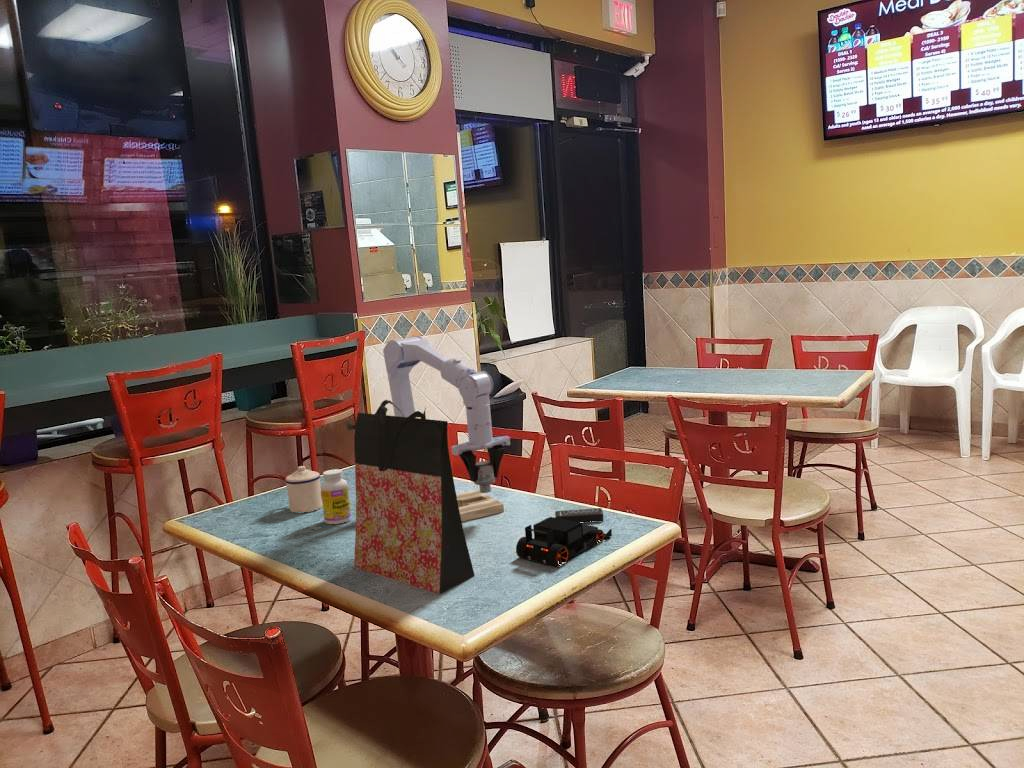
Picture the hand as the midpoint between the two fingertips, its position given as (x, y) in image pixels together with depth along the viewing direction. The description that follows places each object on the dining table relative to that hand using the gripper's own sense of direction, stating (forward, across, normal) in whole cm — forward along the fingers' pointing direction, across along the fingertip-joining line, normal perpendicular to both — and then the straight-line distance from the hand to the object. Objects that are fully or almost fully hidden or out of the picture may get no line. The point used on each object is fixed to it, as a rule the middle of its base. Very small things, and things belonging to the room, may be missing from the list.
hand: (484, 478), depth 183 cm
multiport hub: (+10, +16, -15) cm, 25 cm away
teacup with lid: (+10, -35, +42) cm, 56 cm away
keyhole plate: (+10, -2, +10) cm, 14 cm away
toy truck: (+10, +5, -28) cm, 31 cm away
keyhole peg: (+3, 0, 0) cm, 3 cm away
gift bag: (+10, -26, -18) cm, 33 cm away
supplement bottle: (+10, -30, +24) cm, 40 cm away
